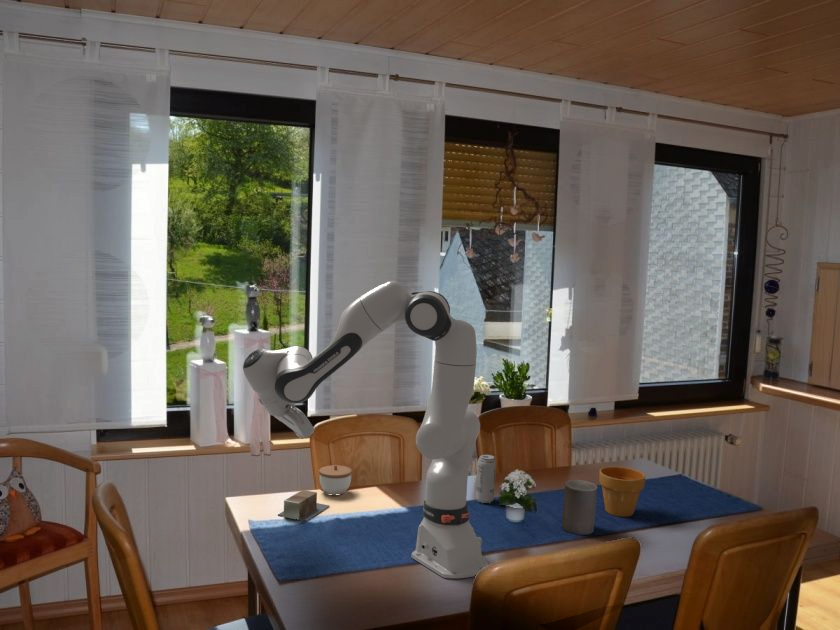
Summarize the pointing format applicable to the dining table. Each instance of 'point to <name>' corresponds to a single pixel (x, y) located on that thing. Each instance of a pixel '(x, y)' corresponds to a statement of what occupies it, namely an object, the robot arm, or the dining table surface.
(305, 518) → the felt mat
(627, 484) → the flower pot
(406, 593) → the dining table surface
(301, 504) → the walnut block
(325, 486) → the lidded jar
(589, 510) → the pillar candle
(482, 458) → the energy drink can
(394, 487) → the dining table surface
